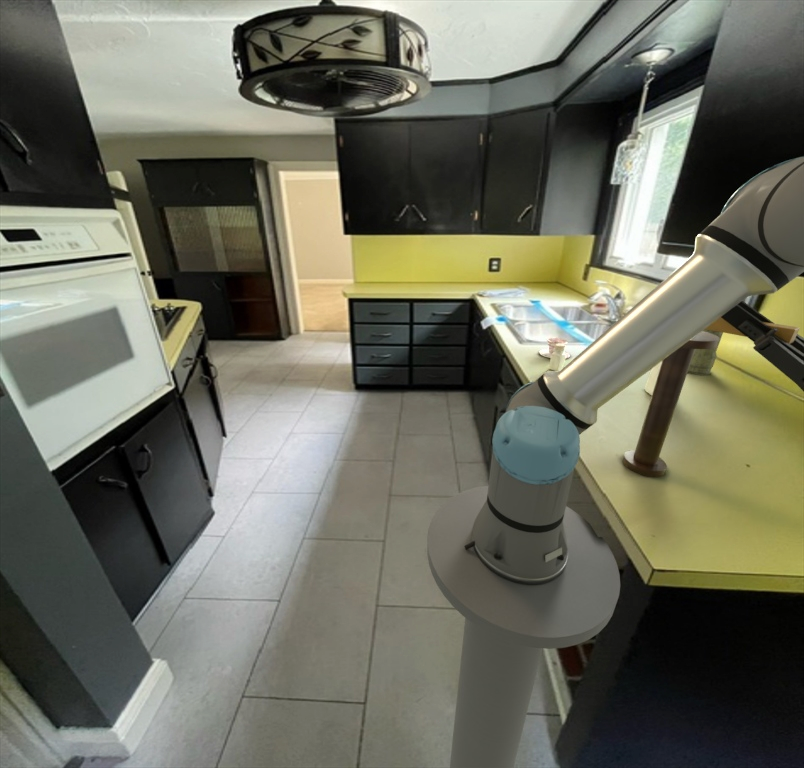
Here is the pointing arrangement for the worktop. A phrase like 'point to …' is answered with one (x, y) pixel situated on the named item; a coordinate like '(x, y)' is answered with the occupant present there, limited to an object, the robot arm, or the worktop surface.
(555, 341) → the teacup
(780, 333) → the wooden t-shaped block
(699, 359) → the greenish-grey tall rounded piece
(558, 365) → the pepper shaker
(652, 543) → the worktop surface
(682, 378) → the dark brown spool
